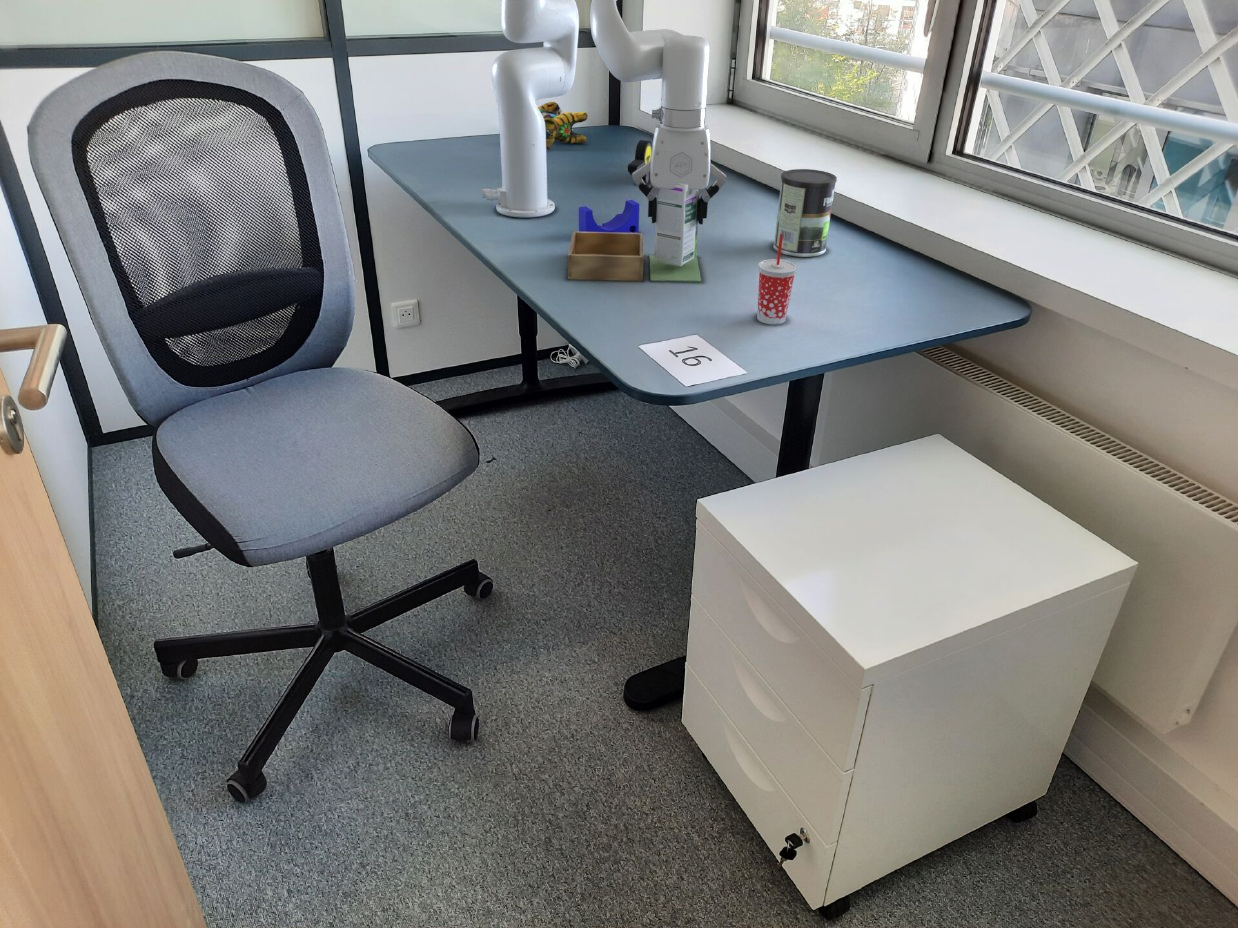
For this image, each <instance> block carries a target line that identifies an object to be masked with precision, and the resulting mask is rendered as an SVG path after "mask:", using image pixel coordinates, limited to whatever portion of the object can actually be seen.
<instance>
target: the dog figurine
mask: <svg viewBox="0 0 1238 928" xmlns="http://www.w3.org/2000/svg"><path fill="white" fill-rule="evenodd" d="M537 107H538V109H539V110H540V112H541V114H542V116H543V118H544V121H545V127H546V151H547V150H550V149H551V148H552V146H553V144H554V142H555V140H556V141H558V142H560V143H563V144H569V145H575V144H576V145H577V144H578V145H581V144H585V143H586V142H587V137H586V136H585V135H583V134H582V133H578V132H575V131H574V129H573V127H574V125H575V124H579V123H583V122H586V121H587V120H588V113H587V112H586V111H575V112H563V110H562V109H561V107H560V105H559V103H557V102H555V101H548V102H546V103H544V104H541V105H540V106H537Z"/></svg>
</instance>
